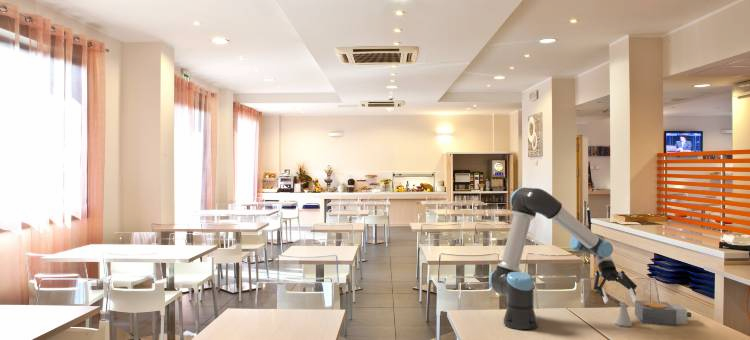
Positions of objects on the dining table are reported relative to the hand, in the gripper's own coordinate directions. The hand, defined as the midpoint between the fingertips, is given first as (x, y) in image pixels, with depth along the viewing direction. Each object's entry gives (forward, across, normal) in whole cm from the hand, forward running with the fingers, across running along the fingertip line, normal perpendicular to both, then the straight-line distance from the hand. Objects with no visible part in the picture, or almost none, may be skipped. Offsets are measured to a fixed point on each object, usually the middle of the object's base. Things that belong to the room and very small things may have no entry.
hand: (621, 301), depth 230 cm
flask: (+10, +1, -3) cm, 11 cm away
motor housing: (+6, -21, -8) cm, 23 cm away
